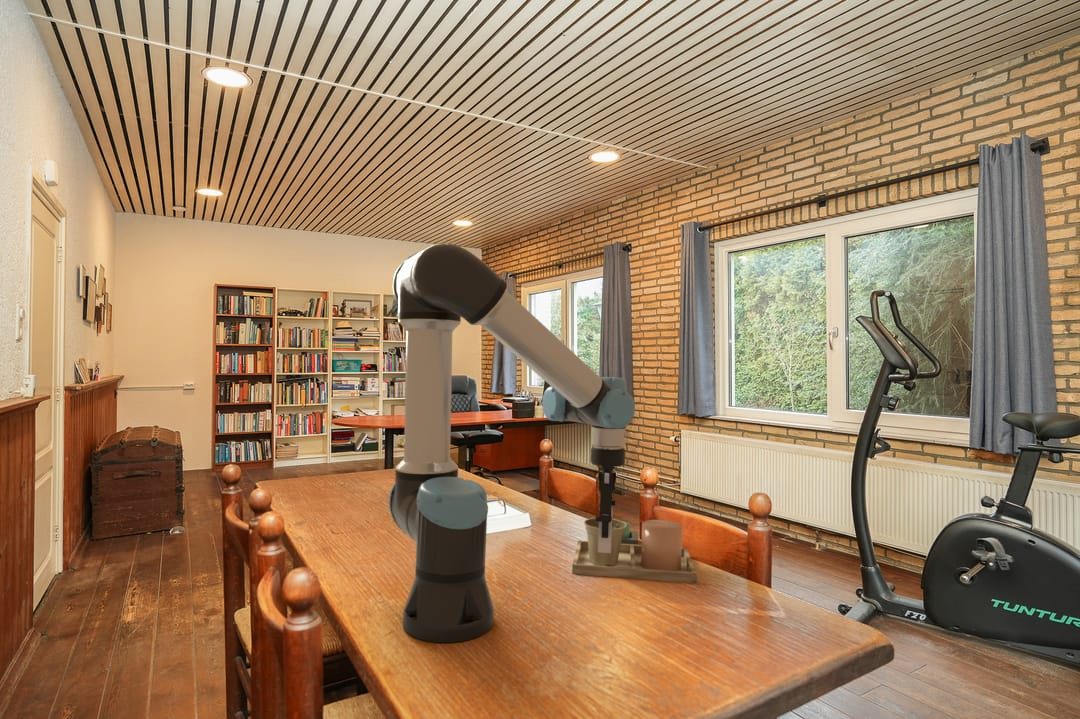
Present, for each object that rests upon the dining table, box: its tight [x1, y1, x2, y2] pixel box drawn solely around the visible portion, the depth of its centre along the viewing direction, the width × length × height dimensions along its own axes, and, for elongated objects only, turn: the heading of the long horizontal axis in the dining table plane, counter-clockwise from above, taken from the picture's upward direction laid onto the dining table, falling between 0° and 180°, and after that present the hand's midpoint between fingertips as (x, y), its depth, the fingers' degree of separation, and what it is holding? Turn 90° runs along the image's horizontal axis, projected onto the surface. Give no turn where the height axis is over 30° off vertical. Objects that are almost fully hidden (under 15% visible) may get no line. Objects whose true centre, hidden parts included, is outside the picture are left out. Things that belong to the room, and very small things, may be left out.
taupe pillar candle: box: [640, 519, 683, 571], centre depth 131 cm, size 9×9×9 cm
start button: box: [621, 520, 631, 538], centre depth 147 cm, size 4×4×5 cm
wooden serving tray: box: [571, 540, 698, 584], centre depth 132 cm, size 18×25×3 cm
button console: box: [621, 530, 640, 545], centre depth 147 cm, size 8×8×3 cm
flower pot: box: [583, 517, 627, 566], centre depth 132 cm, size 9×9×9 cm
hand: (605, 543), depth 132 cm, fingers open, 13 cm apart
